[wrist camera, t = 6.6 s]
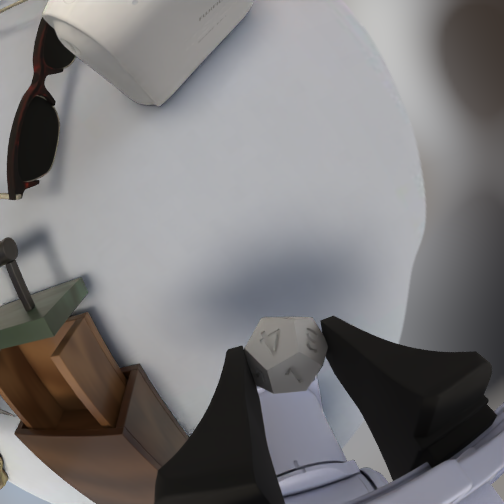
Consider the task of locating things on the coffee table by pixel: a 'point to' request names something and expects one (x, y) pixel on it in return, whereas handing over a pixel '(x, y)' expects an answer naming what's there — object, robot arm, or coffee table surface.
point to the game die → (285, 353)
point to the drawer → (55, 358)
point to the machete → (5, 413)
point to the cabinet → (114, 447)
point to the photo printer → (144, 39)
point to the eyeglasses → (36, 116)
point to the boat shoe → (2, 475)
